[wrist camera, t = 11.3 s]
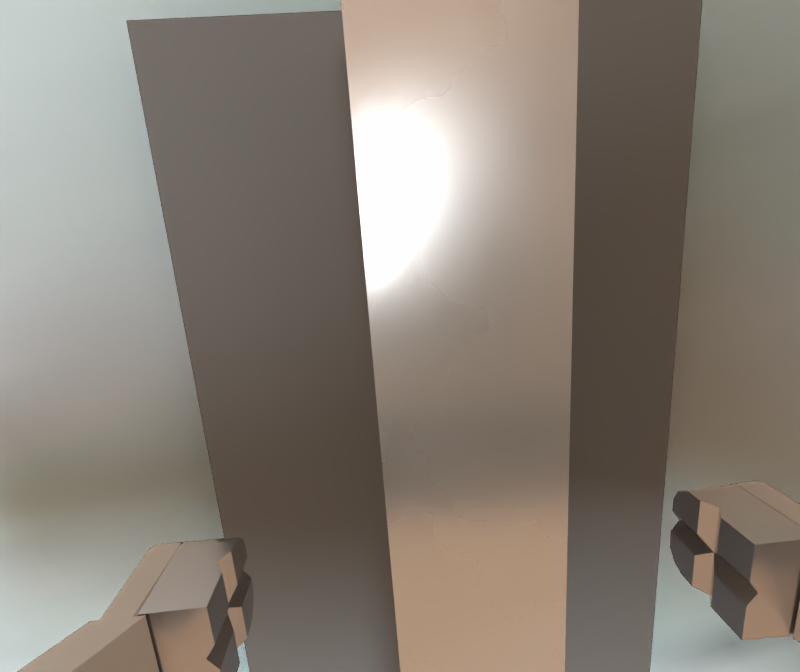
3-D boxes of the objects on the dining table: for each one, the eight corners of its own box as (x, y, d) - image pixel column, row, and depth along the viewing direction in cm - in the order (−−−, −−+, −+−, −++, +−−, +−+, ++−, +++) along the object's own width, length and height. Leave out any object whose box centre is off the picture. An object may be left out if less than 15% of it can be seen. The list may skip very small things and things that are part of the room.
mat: (149, 41, 8) (126, 20, 7) (672, 15, 9) (703, -7, 8) (285, 792, 13) (279, 829, 12) (625, 745, 13) (641, 778, 12)
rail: (347, 50, 8) (338, -30, 5) (516, 42, 8) (580, -40, 5) (412, 799, 12) (424, 938, 10) (522, 784, 12) (559, 917, 10)
